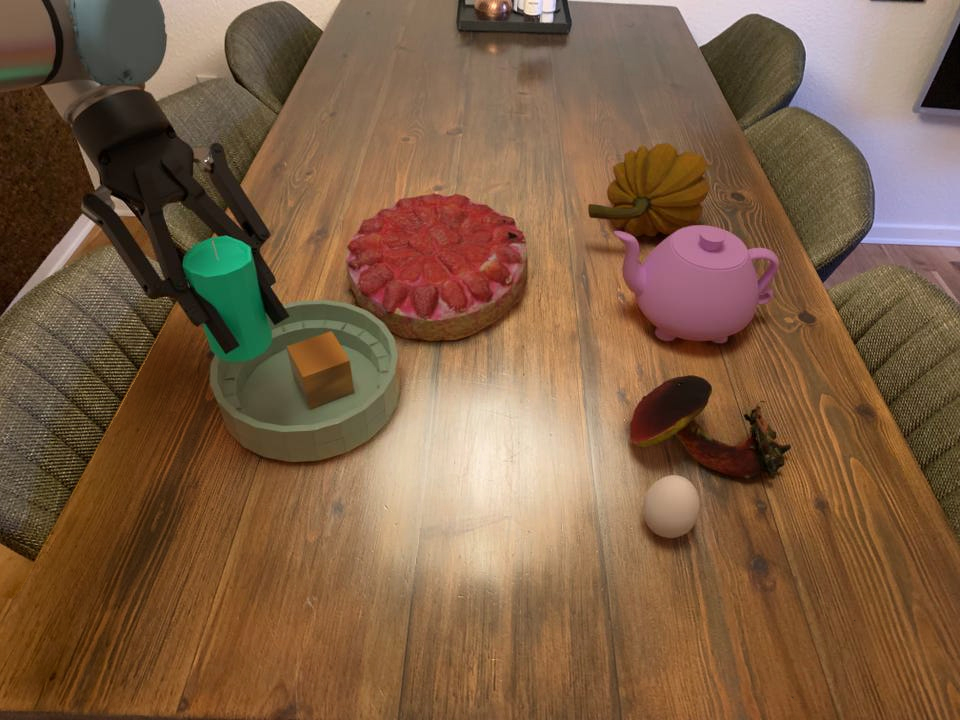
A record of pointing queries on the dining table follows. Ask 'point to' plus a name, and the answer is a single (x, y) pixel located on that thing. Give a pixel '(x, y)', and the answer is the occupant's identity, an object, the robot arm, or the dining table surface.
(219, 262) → the candle
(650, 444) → the mushroom
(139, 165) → the robot arm
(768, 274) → the teapot
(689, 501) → the egg
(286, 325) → the bowl
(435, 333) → the cake
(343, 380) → the block
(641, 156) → the fruit
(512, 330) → the dining table surface
